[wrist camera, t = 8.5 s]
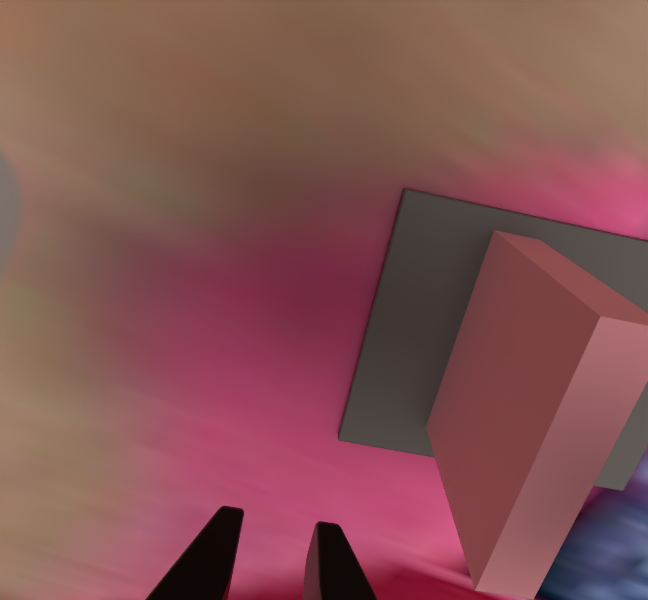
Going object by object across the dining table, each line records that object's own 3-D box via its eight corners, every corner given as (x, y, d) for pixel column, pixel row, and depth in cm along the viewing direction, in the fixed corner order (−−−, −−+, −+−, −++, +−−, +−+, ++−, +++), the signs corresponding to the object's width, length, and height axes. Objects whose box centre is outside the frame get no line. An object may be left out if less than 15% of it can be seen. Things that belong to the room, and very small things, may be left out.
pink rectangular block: (465, 433, 20) (533, 599, 13) (425, 427, 20) (475, 590, 13) (539, 239, 17) (674, 330, 10) (494, 229, 17) (600, 316, 10)
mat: (617, 483, 21) (622, 490, 21) (338, 434, 20) (338, 440, 20) (739, 260, 18) (748, 264, 17) (404, 187, 17) (406, 189, 16)
